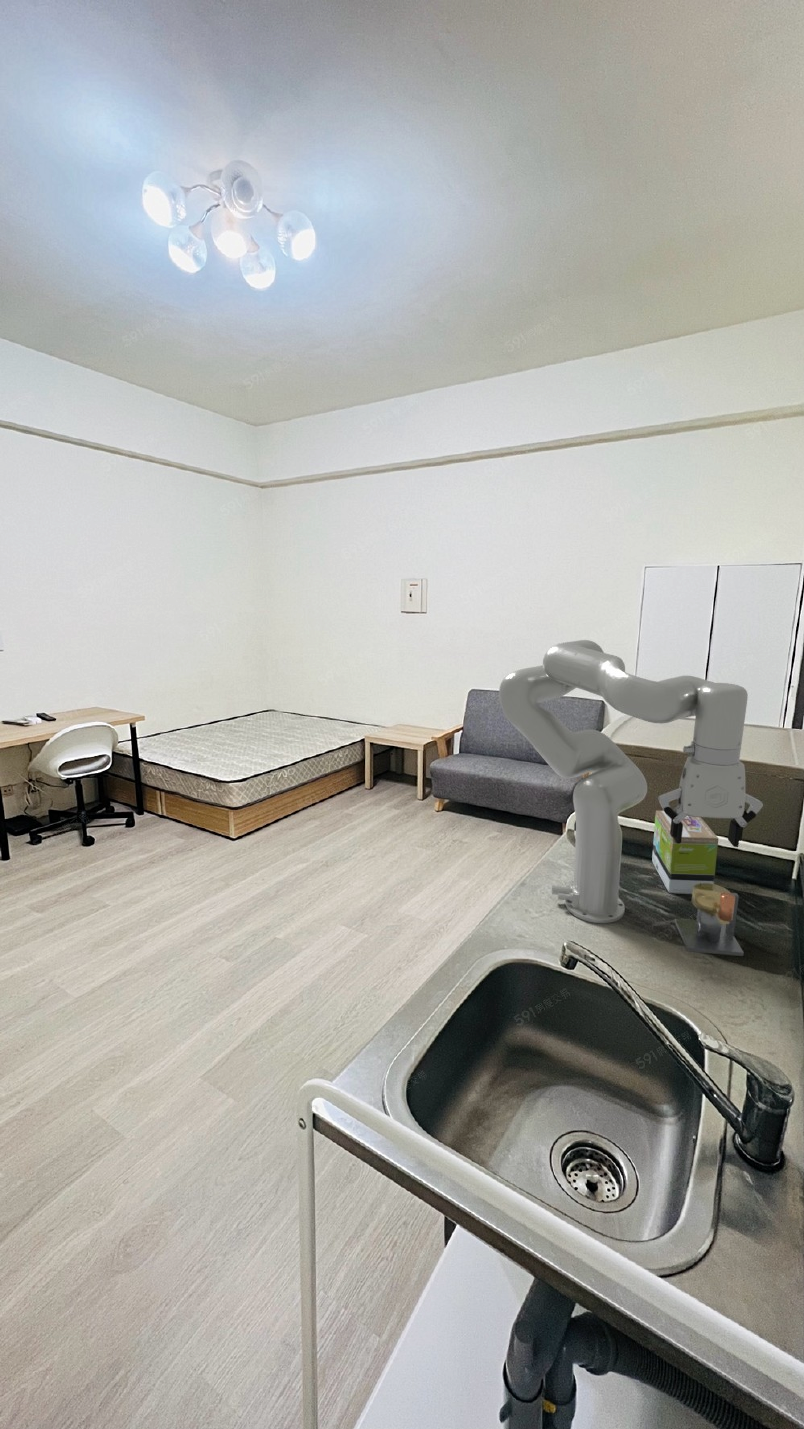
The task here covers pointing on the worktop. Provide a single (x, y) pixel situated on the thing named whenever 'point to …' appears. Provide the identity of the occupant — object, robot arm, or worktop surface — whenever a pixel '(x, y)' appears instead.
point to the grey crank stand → (710, 933)
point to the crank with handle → (714, 901)
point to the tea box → (684, 853)
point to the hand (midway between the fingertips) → (704, 841)
